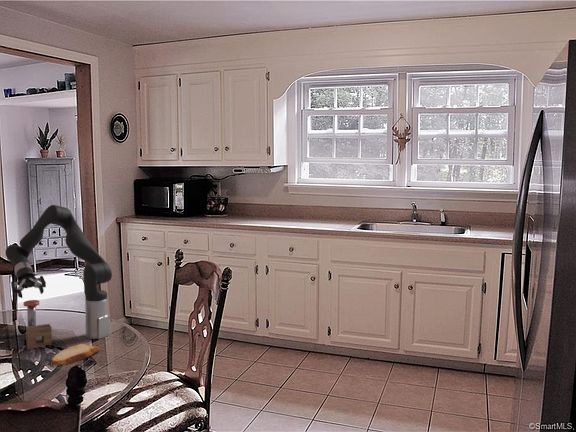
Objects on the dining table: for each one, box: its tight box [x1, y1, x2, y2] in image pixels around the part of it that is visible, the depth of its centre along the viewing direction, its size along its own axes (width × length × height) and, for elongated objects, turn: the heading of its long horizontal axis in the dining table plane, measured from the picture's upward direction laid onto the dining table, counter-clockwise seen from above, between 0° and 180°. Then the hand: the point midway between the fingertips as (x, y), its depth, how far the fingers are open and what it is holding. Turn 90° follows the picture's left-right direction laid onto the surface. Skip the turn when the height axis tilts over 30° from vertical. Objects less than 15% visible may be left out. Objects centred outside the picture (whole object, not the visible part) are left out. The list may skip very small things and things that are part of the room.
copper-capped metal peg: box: [23, 299, 40, 327], centre depth 230 cm, size 14×6×14 cm, turn 35°
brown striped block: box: [25, 323, 53, 351], centre depth 219 cm, size 5×9×8 cm, turn 125°
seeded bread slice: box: [50, 343, 101, 365], centre depth 210 cm, size 18×18×4 cm
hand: (31, 294), depth 238 cm, fingers open, 8 cm apart
